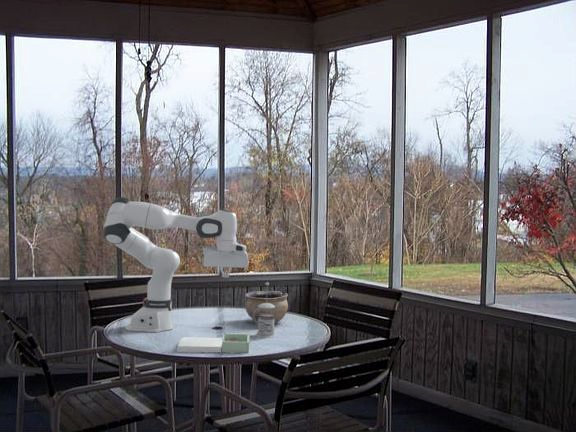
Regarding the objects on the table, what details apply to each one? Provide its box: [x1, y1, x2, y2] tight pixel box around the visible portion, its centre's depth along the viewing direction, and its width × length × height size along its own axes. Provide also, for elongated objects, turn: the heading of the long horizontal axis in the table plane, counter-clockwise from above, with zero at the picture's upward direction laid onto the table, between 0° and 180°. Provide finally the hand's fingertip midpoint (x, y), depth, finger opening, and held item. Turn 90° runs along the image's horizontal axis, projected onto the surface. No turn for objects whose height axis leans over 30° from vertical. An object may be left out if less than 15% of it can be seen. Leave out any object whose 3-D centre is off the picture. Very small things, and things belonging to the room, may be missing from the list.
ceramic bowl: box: [245, 290, 289, 324], centre depth 330 cm, size 22×22×15 cm
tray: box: [221, 333, 251, 354], centre depth 277 cm, size 11×15×4 cm
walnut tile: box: [227, 339, 239, 342], centre depth 280 cm, size 5×5×2 cm
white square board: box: [176, 336, 224, 353], centre depth 276 cm, size 18×16×2 cm
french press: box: [252, 282, 277, 339], centre depth 301 cm, size 10×12×25 cm
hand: (225, 277), depth 287 cm, fingers closed
